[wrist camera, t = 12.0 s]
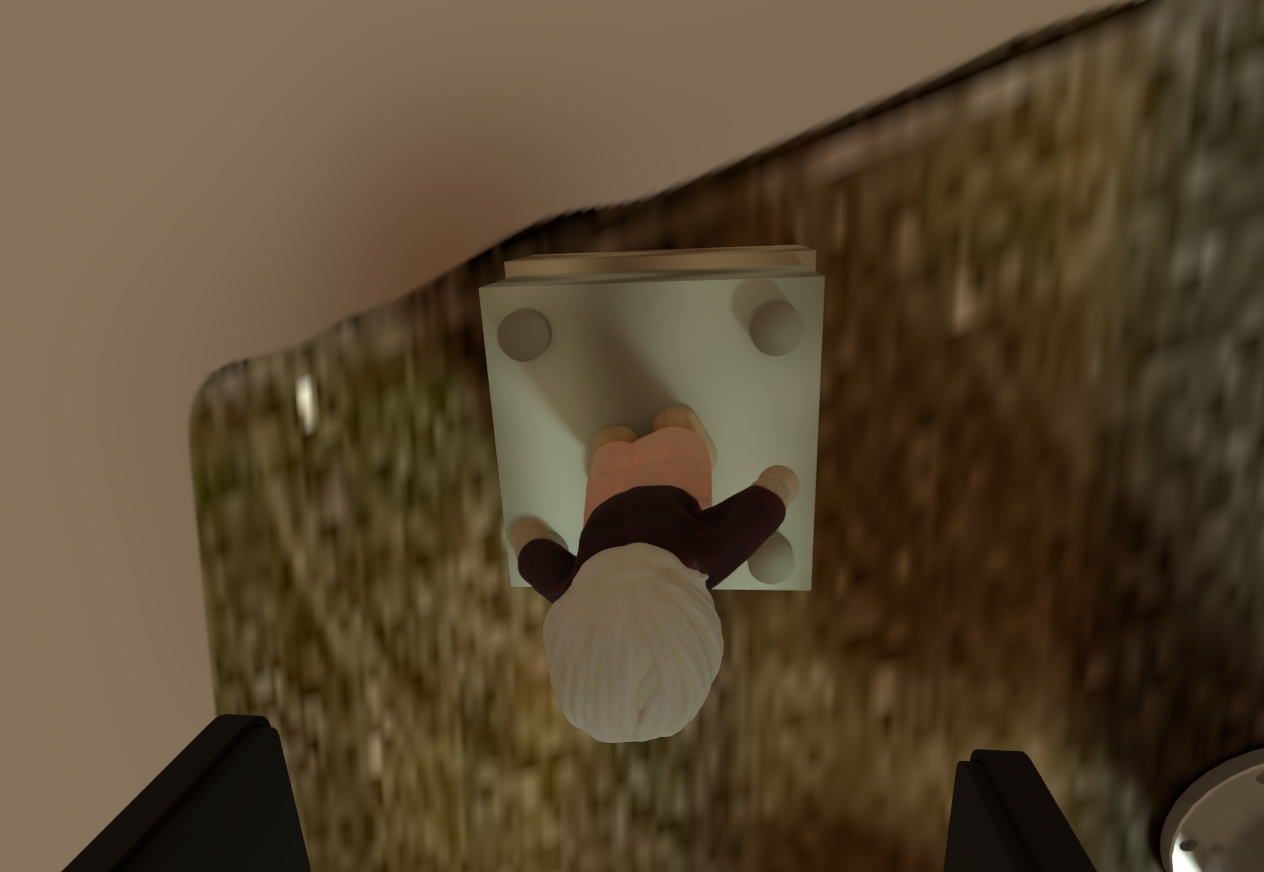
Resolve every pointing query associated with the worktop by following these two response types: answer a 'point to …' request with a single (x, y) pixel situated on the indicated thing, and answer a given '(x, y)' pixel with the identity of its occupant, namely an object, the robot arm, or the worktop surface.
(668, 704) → the grandmother figurine
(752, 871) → the worktop surface
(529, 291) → the grey studded block
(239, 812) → the robot arm
